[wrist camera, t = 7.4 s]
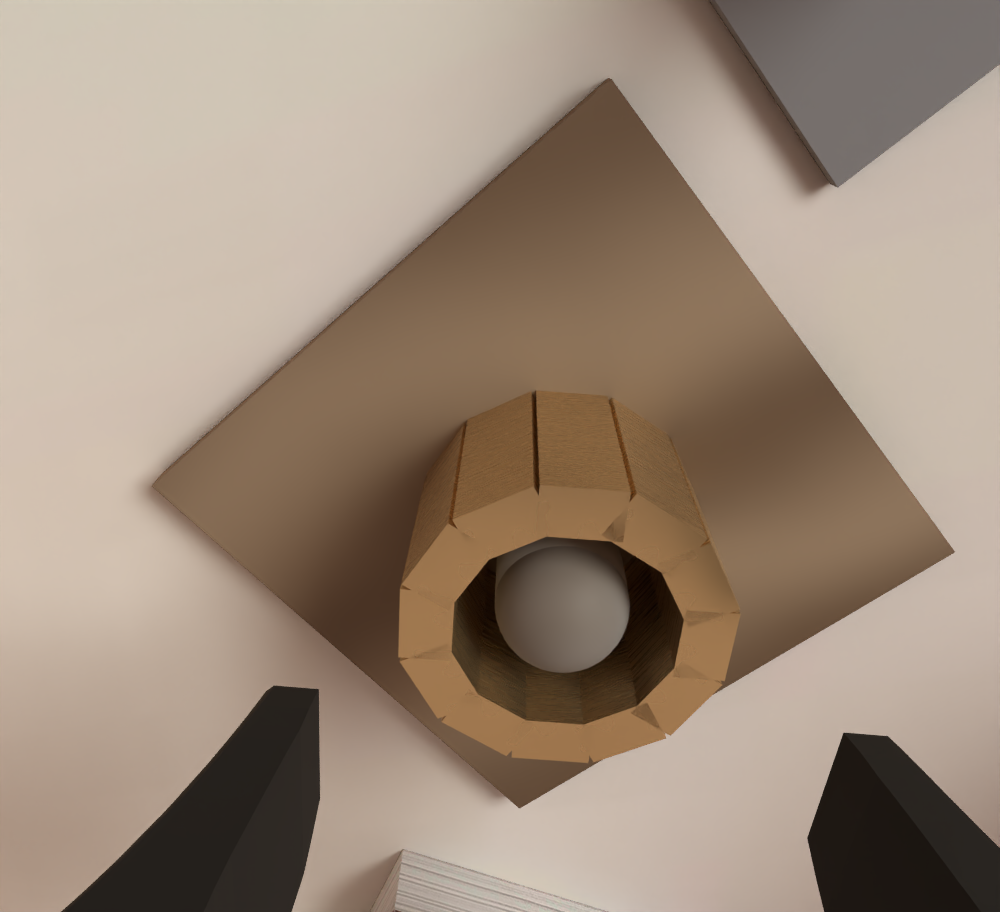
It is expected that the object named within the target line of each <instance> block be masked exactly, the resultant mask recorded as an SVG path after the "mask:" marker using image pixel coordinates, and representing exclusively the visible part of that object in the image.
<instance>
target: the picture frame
mask: <svg viewBox="0 0 1000 912" xmlns="http://www.w3.org/2000/svg"><path fill="white" fill-rule="evenodd" d="M370 912H607V911H604V910H601V909H597V908H594V907H591V906H588V905H584V904H581V903H578V902H575V901H571V900H568V899H565V898H561V897H558V896H555V895H552V894H548V893H545V892H542V891H538V890H535V889H532V888H529V887H525V886H522V885H519V884H516V883H512V882H509V881H506V880H502V879H499V878H496V877H493V876H489V875H486V874H483V873H479V872H476V871H473V870H470V869H466V868H463V867H460V866H457V865H453V864H450V863H447V862H443V861H440V860H437V859H434V858H430V857H427V856H424V855H420V854H417V853H414V852H411V851H407V850H404V849H403V850H402V852H401V854H400V856H399V857H398V859H397V861H396V863H395V865H394V867H393V869H392V871H391V873H390V875H389V876H388V878H387V880H386V882H385V884H384V886H383V888H382V890H381V892H380V894H379V895H378V897H377V899H376V901H375V903H374V905H373V907H372V909H371V911H370Z"/></svg>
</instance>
